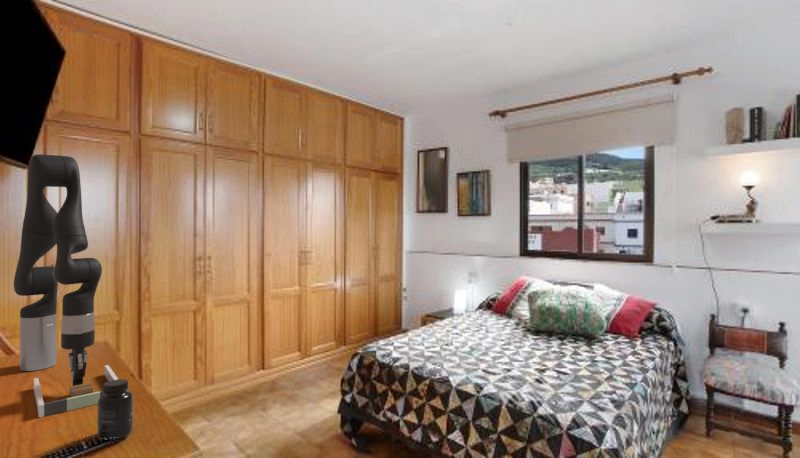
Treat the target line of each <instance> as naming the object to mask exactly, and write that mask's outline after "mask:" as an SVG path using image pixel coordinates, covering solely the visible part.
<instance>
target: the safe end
mask: <svg viewBox="0 0 800 458" xmlns="http://www.w3.org/2000/svg"><path fill="white" fill-rule="evenodd" d="M99 398H100V392H99V391H95V392H94V391H93V393H89V394H85V395H80V396H75V397H71V398H70V397H67V411H66V412H70V411H75V410H77V409H78V410H79V409H83V408H87V407H91V406H96V405H98V400H99Z"/></svg>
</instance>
